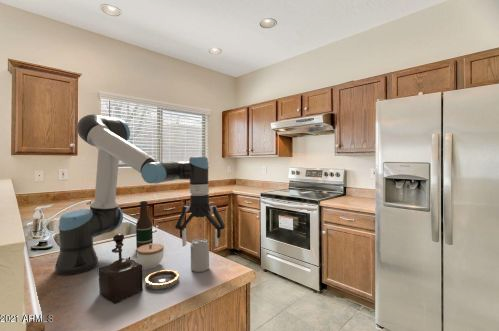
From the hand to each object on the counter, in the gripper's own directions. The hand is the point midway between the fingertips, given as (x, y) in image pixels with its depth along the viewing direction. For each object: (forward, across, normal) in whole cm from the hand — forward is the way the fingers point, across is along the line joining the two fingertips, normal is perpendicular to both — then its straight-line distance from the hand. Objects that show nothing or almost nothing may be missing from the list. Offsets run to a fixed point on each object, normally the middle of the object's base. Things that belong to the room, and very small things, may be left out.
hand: (200, 245), depth 108 cm
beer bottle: (+10, -34, +21) cm, 42 cm away
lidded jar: (+10, -22, +2) cm, 25 cm away
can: (+10, 0, 0) cm, 10 cm away
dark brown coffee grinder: (+10, -25, -18) cm, 32 cm away
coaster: (+10, -12, -12) cm, 19 cm away
